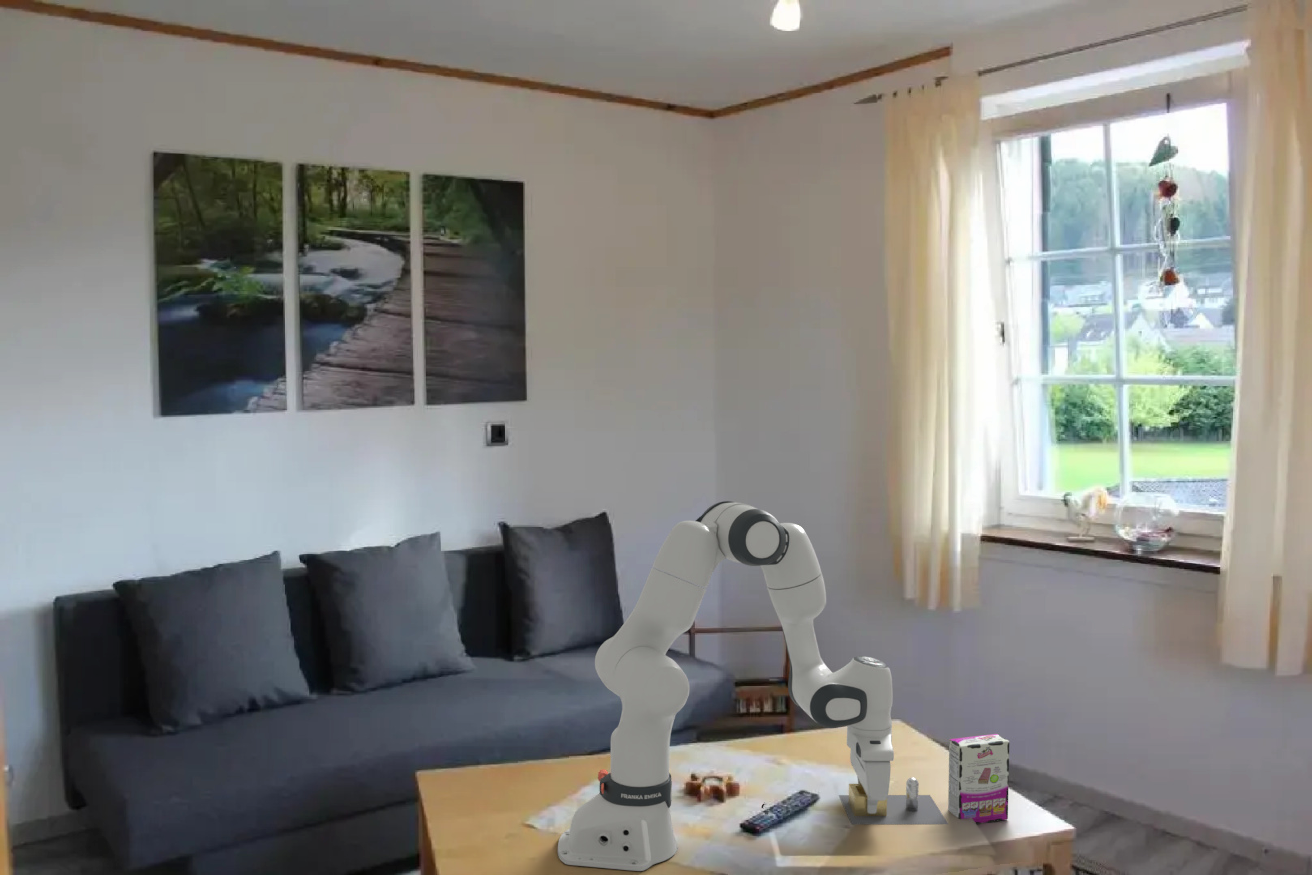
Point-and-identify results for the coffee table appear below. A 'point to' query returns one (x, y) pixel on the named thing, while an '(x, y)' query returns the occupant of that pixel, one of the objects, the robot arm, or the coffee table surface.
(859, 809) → the brass collar
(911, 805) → the steel post
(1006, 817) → the candy bar box
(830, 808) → the coffee table surface
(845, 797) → the slate mat
